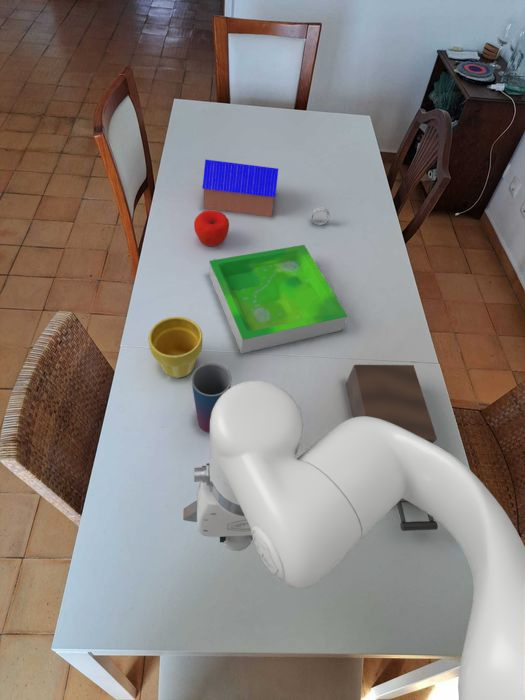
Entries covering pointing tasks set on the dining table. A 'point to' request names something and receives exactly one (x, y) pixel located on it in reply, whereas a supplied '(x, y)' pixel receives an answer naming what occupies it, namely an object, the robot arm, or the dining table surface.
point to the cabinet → (390, 397)
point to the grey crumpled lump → (318, 211)
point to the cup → (209, 390)
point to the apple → (211, 227)
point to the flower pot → (176, 345)
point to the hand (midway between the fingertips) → (238, 528)
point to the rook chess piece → (237, 542)
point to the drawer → (415, 525)
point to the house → (239, 187)
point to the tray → (275, 298)
